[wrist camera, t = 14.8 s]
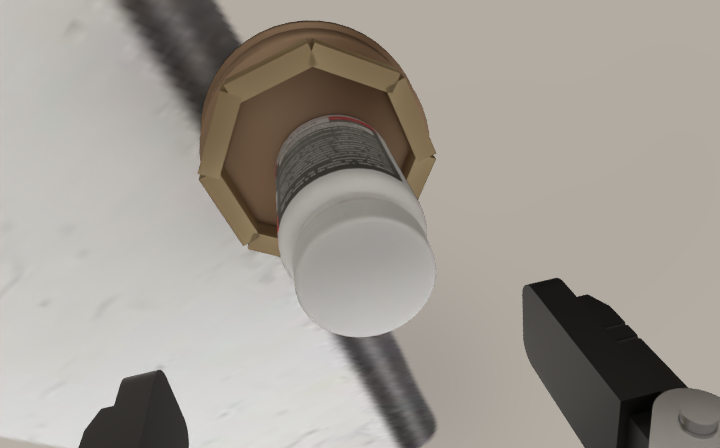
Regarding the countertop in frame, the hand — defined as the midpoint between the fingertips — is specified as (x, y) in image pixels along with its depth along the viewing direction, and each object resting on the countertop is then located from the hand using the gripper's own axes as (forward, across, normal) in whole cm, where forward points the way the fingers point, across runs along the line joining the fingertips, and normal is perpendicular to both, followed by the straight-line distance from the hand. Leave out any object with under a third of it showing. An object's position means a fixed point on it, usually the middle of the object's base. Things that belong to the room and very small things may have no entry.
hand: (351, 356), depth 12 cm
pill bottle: (+12, -1, 0) cm, 12 cm away
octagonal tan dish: (+15, -1, 0) cm, 15 cm away
